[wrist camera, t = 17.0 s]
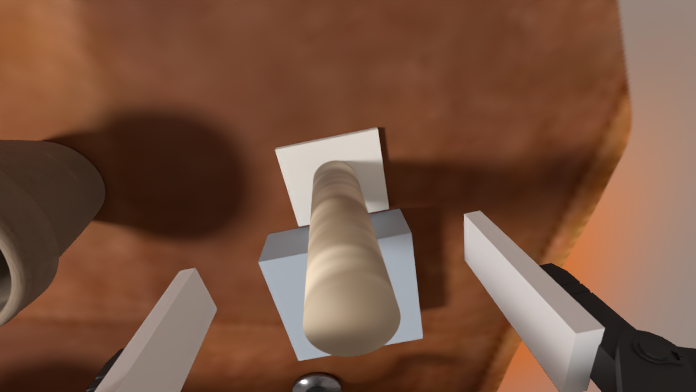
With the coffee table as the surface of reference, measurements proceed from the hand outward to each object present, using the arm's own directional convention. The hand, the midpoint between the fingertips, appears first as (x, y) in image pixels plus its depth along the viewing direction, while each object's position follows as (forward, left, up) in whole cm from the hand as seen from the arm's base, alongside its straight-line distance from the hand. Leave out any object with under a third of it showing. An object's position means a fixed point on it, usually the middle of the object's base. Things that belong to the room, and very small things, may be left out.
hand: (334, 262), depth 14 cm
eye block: (-1, -10, -11) cm, 15 cm away
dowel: (0, 0, -10) cm, 10 cm away
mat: (0, 0, -11) cm, 11 cm away
